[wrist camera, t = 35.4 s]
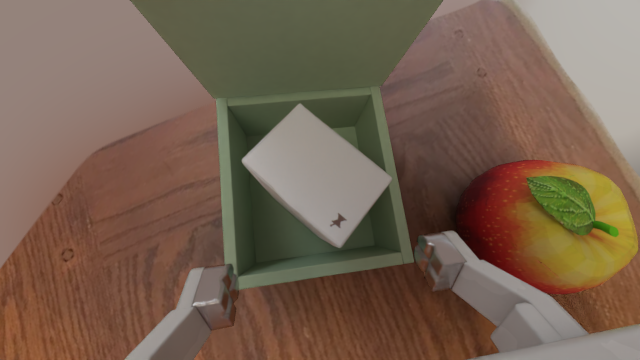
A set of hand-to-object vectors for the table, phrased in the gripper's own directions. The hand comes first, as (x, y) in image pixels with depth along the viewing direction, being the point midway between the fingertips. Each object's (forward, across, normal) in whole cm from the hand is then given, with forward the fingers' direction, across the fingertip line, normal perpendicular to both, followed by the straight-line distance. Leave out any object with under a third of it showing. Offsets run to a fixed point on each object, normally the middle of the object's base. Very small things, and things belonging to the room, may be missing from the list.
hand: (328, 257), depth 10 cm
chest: (+12, 0, +5) cm, 13 cm away
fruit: (+8, -18, +10) cm, 22 cm away
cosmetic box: (+11, 0, +6) cm, 12 cm away
